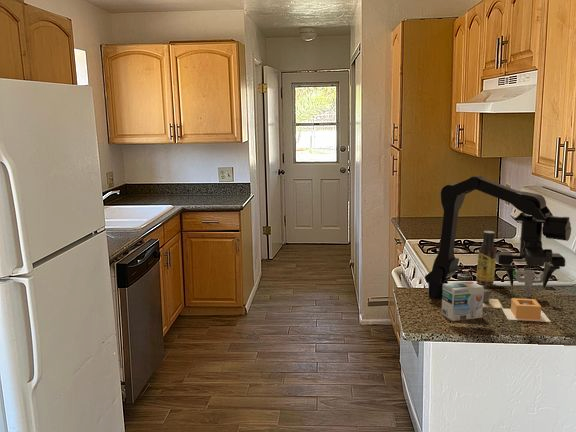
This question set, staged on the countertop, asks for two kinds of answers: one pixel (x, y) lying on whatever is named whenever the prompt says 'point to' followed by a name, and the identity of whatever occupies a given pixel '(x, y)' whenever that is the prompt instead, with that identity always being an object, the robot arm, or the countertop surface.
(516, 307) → the collar
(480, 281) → the sauce bottle
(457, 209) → the robot arm
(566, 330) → the countertop surface
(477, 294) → the light bulb box
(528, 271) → the mechanical component
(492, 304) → the stand
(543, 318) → the hub board
